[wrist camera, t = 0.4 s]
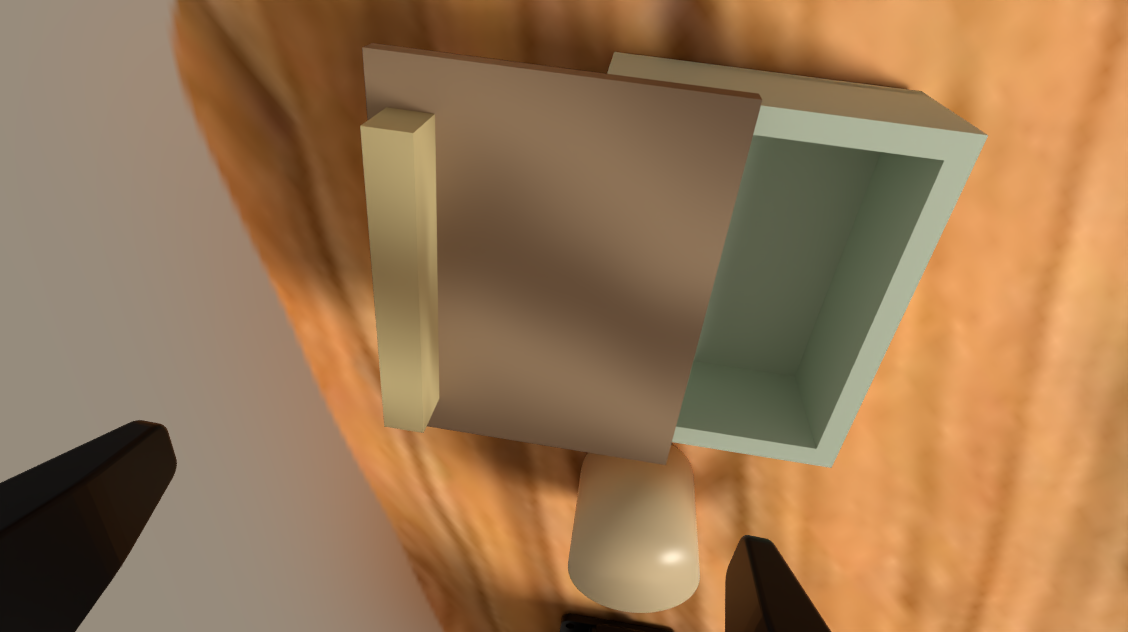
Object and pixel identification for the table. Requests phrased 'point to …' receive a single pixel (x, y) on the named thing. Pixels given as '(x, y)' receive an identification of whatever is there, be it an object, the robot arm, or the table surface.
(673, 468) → the dome-topped beige cylinder
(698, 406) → the box body
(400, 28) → the table surface
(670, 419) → the lid
